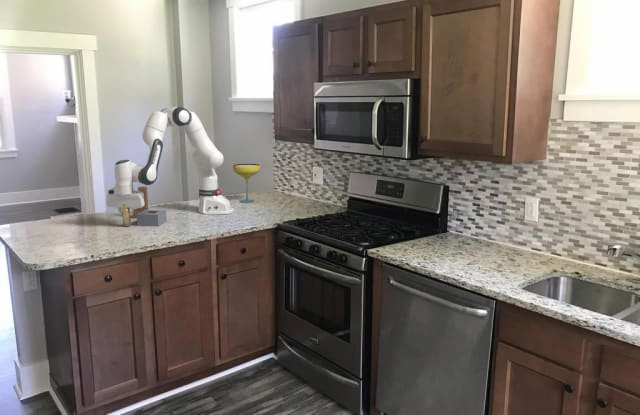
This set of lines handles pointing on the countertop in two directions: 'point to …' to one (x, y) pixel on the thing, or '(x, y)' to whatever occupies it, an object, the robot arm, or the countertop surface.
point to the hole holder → (151, 218)
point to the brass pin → (126, 216)
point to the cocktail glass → (246, 175)
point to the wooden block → (138, 210)
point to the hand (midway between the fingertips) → (126, 215)
